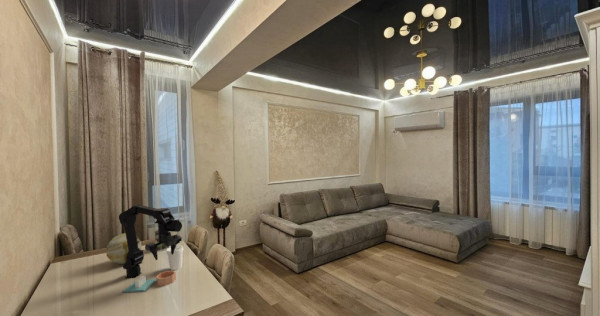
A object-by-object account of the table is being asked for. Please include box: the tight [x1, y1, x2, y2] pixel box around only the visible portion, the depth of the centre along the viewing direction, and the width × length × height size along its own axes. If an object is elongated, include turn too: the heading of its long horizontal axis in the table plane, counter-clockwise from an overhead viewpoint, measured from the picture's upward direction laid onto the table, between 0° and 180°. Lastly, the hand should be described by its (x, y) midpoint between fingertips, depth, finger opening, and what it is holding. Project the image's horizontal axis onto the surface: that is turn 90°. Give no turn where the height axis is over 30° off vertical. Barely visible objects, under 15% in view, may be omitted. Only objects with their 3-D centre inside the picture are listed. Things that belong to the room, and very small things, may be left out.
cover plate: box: [123, 275, 157, 292], centre depth 138 cm, size 11×11×4 cm
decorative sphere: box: [105, 232, 142, 265], centre depth 172 cm, size 20×20×20 cm
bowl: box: [156, 270, 177, 287], centre depth 142 cm, size 9×9×4 cm
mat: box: [121, 281, 157, 294], centre depth 138 cm, size 13×13×1 cm
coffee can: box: [154, 229, 171, 252], centre depth 196 cm, size 10×10×14 cm
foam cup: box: [166, 245, 185, 271], centre depth 159 cm, size 10×9×13 cm
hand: (164, 257), depth 146 cm, fingers open, 9 cm apart
